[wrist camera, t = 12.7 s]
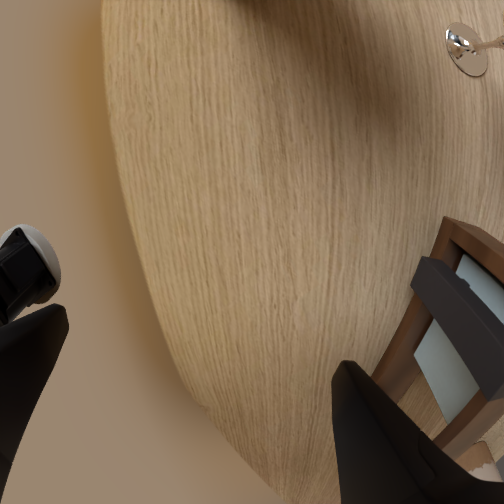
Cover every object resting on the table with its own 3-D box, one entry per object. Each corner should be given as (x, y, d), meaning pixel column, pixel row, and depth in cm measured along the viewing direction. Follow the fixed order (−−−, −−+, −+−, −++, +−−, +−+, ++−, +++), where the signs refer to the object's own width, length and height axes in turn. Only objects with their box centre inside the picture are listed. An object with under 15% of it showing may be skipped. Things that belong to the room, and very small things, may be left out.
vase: (496, 434, 38) (518, 486, 23) (459, 467, 45) (475, 514, 30) (456, 448, 38) (478, 511, 22) (417, 480, 44) (431, 535, 29)
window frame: (350, 407, 28) (371, 502, 17) (443, 215, 19) (554, 302, 8) (384, 406, 28) (410, 493, 17) (479, 227, 19) (577, 305, 8)
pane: (374, 354, 22) (416, 470, 12) (424, 243, 18) (525, 351, 8) (419, 354, 22) (467, 455, 12) (469, 254, 18) (561, 345, 8)
